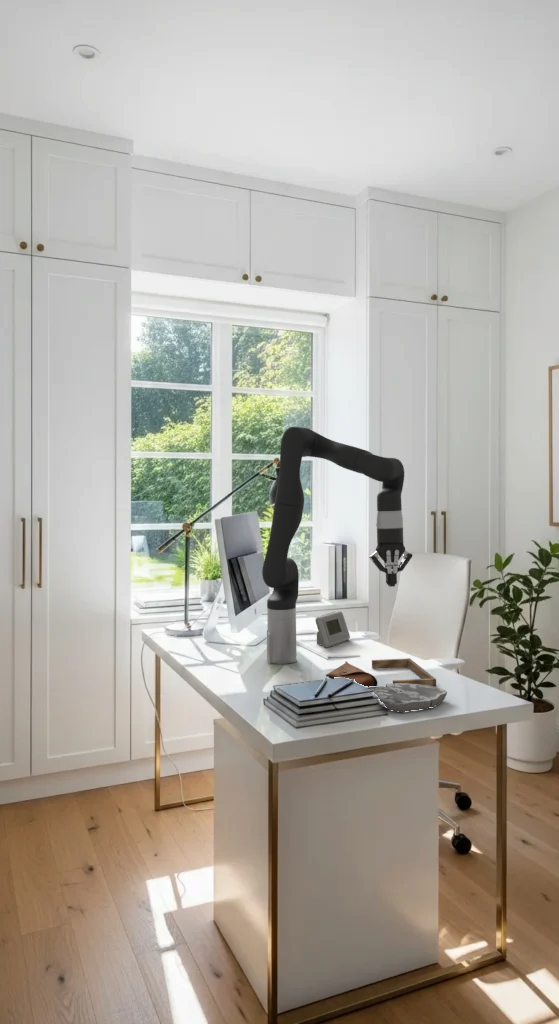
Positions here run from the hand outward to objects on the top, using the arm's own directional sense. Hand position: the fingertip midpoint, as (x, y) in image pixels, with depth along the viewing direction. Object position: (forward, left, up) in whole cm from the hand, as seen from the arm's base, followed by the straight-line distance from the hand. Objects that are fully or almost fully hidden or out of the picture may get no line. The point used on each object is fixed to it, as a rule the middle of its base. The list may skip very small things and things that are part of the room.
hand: (391, 586), depth 206 cm
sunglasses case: (-13, -1, -28) cm, 30 cm away
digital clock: (-8, +47, -27) cm, 55 cm away
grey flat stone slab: (-3, -23, -27) cm, 36 cm away
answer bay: (+3, 0, -27) cm, 27 cm away
